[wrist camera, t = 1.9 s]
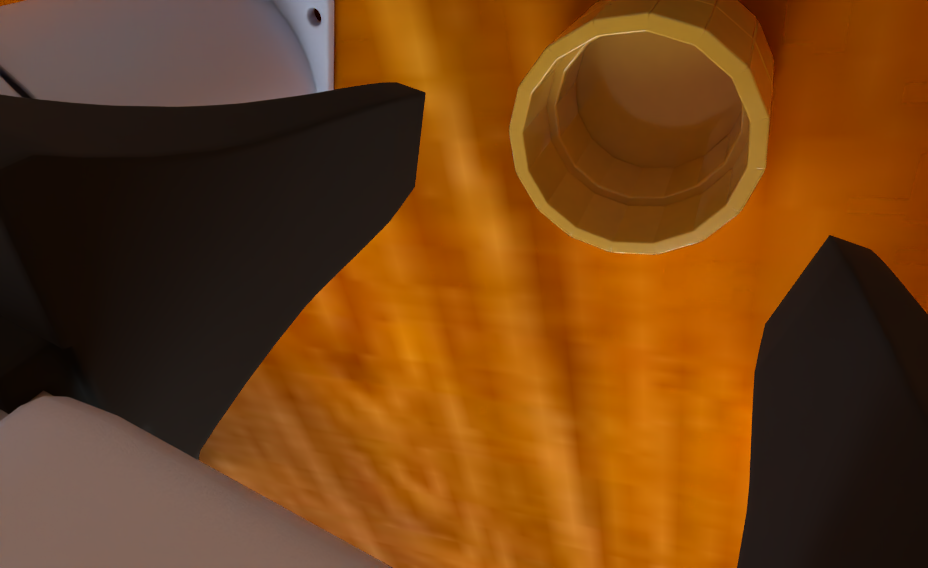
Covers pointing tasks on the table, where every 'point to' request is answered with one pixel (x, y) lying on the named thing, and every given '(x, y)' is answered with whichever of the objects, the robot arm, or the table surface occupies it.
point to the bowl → (646, 122)
